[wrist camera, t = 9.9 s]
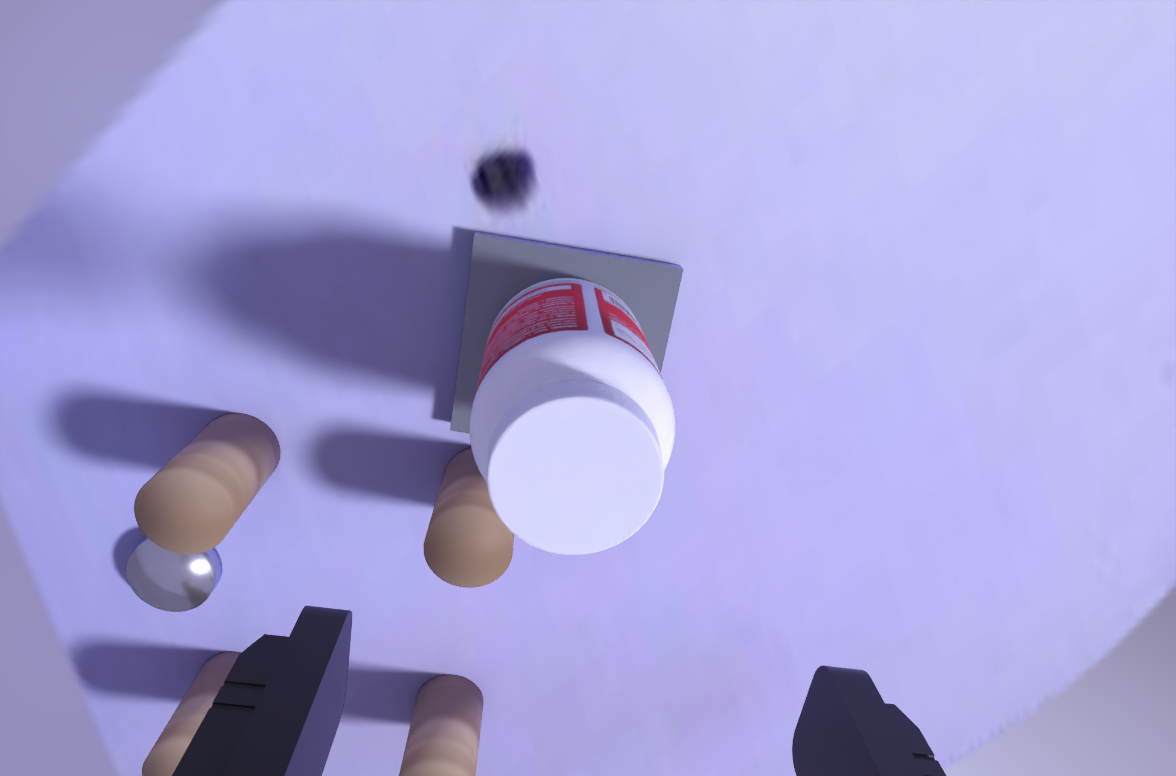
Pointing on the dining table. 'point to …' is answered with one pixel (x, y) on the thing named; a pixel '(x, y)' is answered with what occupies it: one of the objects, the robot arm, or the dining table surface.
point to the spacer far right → (444, 729)
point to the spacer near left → (207, 484)
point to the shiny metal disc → (172, 576)
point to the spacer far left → (188, 716)
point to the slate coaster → (523, 263)
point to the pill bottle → (571, 418)
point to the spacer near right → (466, 528)
